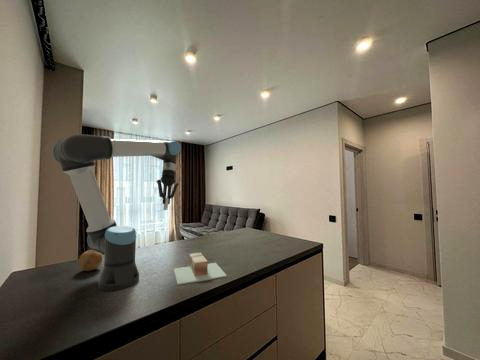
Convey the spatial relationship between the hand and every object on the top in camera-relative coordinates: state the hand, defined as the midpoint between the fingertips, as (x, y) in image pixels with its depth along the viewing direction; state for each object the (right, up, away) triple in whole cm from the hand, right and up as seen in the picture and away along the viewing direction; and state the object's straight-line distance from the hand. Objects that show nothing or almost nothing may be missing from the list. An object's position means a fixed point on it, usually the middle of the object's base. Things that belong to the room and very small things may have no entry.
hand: (165, 209), depth 116 cm
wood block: (+19, -25, -8) cm, 32 cm away
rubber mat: (+23, -28, -18) cm, 40 cm away
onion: (-32, -28, -14) cm, 45 cm away
